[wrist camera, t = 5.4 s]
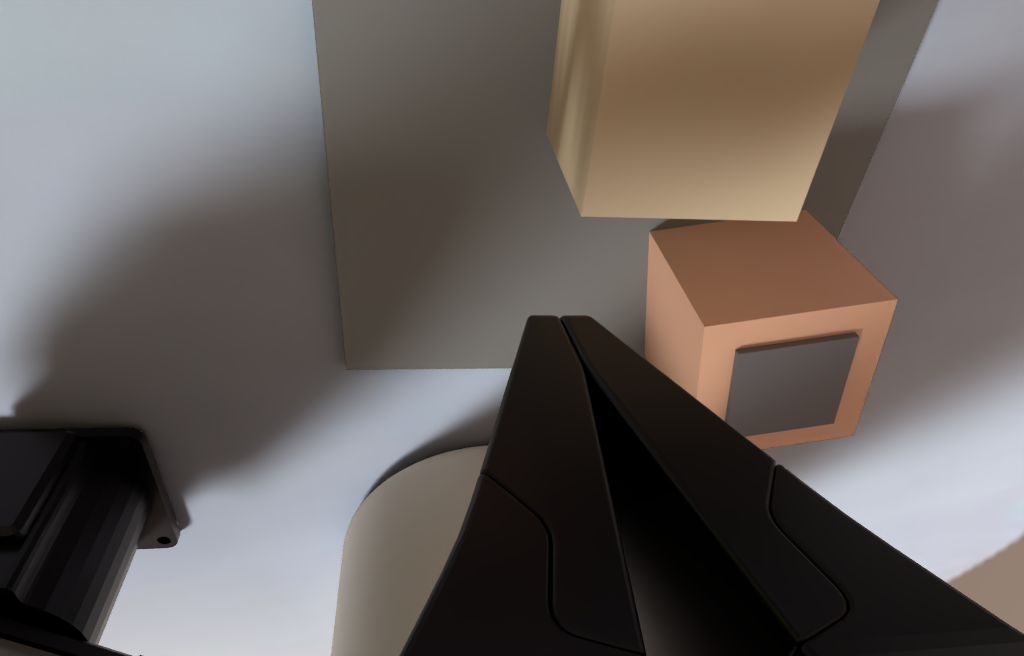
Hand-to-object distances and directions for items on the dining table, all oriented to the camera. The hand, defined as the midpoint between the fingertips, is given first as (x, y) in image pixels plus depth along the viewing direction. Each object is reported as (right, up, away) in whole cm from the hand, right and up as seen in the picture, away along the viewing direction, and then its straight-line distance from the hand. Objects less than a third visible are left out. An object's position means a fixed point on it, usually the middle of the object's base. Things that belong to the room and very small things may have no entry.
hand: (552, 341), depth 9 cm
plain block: (+3, +8, +8) cm, 11 cm away
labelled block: (+6, +2, +13) cm, 15 cm away
